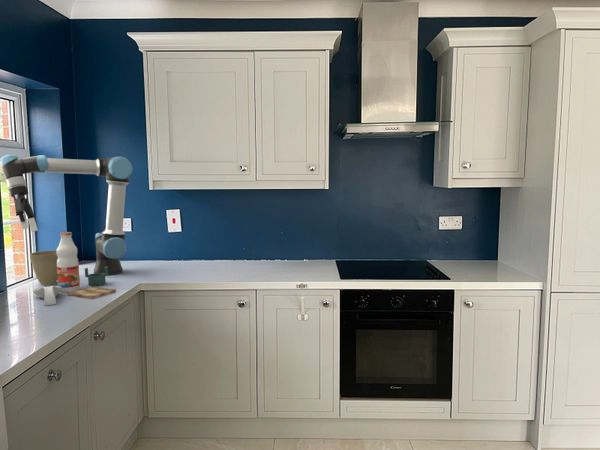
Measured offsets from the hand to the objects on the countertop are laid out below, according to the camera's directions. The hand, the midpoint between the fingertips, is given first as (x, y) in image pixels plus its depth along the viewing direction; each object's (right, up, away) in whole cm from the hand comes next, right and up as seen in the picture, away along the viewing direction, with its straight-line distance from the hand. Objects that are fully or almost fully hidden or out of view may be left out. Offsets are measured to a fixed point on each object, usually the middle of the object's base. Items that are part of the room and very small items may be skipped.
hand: (30, 229), depth 229 cm
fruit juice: (+17, -29, +2) cm, 34 cm away
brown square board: (+31, -30, -4) cm, 43 cm away
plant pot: (0, -28, +17) cm, 32 cm away
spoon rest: (+16, -31, -13) cm, 38 cm away
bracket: (+26, -28, +14) cm, 41 cm away
